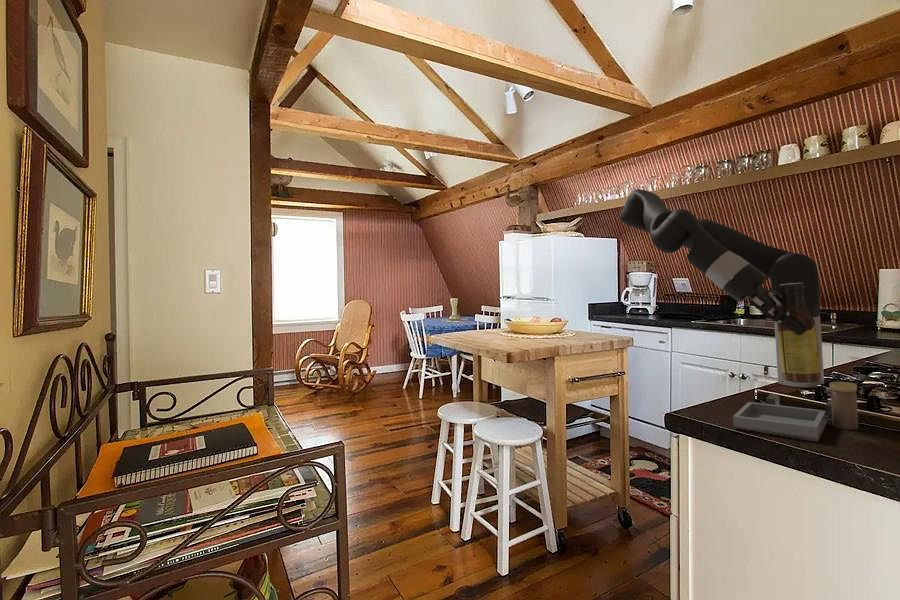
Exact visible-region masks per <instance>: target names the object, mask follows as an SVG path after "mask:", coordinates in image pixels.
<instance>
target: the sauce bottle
mask: <svg viewBox="0 0 900 600" xmlns="http://www.w3.org/2000/svg"><path fill="white" fill-rule="evenodd" d="M804 289H805V288H804V283H790V284H781V285H779V290H780V292H781V298H782V303H783V304H784V305H785V306H784V308H785V309H786V310H787V311H789V312H790V314H791V315H793V316H794V317H796V318H797V319H798V320H800V321H801V322H802V323H804V324H805V325H806V326H808V330H807V331H806V332H804V333H803V334H802V335H797V334H796V333H795V332H793V331H792V330H791V329H789V328H788V327H787V326H785V325H784V324H783V322H782V323H779V322H777V324H778V325H777V326H778V330H777V332H778V341H779V350H780V359H781V369H782V373H783V378H784V379H785V380H787V381H791V382H800V383H809V382H817V381H819V380H820V372H821V371H820V362H819V353H818V344H817V335H816V325H815V321H814V319H813V317H812V315H811V313H810V311H809V309H808V307H807V306H806V304H805V299H804ZM791 315H790V316H791Z"/></svg>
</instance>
